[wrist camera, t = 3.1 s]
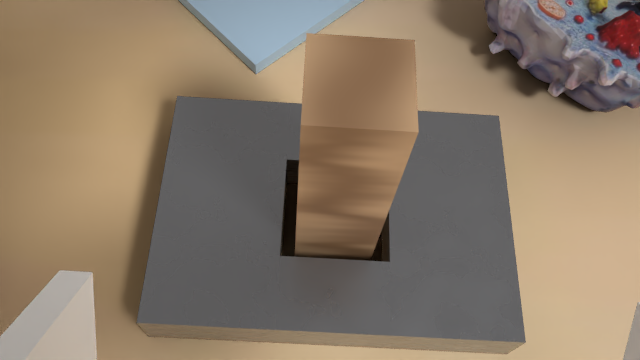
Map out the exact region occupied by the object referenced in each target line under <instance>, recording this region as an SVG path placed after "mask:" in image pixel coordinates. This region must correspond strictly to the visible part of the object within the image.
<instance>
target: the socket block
mask: <svg viewBox="0 0 640 360" xmlns="http://www.w3.org/2000/svg"><path fill="white" fill-rule="evenodd" d="M301 112H302V104H297V103H281V102H265V101H249V100H232V99H216V98H200V97H183V96H177V100H176V106H175V111H174V117H173V123H172V128H171V134H170V139H169V145H168V150H167V156H166V161H165V167H164V173H163V178H162V184H161V189H160V195H159V200H158V206H157V212H156V217H155V223H154V228H153V234H152V239H151V245H150V250H149V256H148V262H147V267H146V273H145V278H144V284H143V289H142V295H141V301H140V306H139V312H138V317H137V324H138V325H139V326H140V327H141V329H142V330H143V331H144V332H145V333H146V334H147V335H148V336H153V337H173V338H193V339H213V340H233V341H253V342H273V343H293V344H313V345H334V346H354V347H374V348H394V349H414V350H434V351H454V352H474V353H494V354H508V353H509V352H511V351H513V350H514V349H516V348H518V347H519V346H521V345H522V344H524V343H526V341H525V333H524V324H523V316H522V308H521V299H520V291H519V282H518V274H517V265H516V257H515V249H514V240H513V232H512V223H511V215H510V207H509V198H508V190H507V181H506V173H505V164H504V156H503V148H502V139H501V131H500V122H499V116H493V115H476V114H460V113H444V112H428V111H418V130H419V132H418V135H417V138H416V140H415V143H414V146H413V148H412V151H411V154H410V156H409V159H408V162H407V164H406V167H405V170H404V172H403V175H402V178H401V180H400V183H399V186H398V188H397V191H396V194H395V196H394V199H393V201H392V204H391V207H390V209H389V212H388V215H387V217H386V220H385V223H384V225H383V228H382V231H381V234H382V261H365V260H347V259H328V258H310V257H291V256H281V255H282V241H283V227H284V213H285V199H286V185H287V183H298V174H299V152H300V130H301Z"/></svg>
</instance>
